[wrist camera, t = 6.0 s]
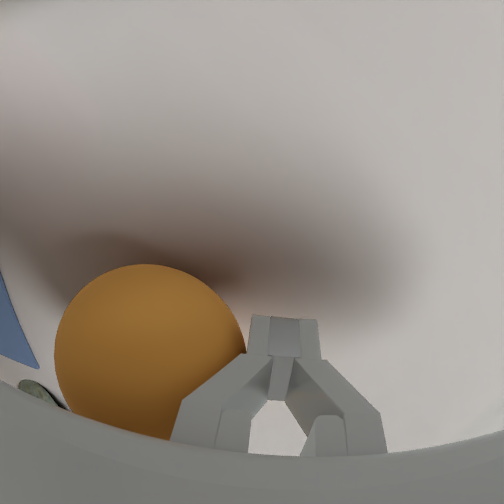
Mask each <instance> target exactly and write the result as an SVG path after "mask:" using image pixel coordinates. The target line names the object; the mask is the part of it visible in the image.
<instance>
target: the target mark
mask: <svg viewBox="0 0 504 504" xmlns="http://www.w3.org/2000/svg"><path fill="white" fill-rule="evenodd" d="M0 354H1V355H3V356H6V357H8V358H10V359H13V360H15V361H17V362H20V363H22V364H25V365H27V366H30V367H32V368H35V369H39V366H38V364H37V362H36V360H35V358H34V356H33V353H32V351H31V349H30V347H29V345H28V343H27V341H26V338H25V336H24V334H23V332H22V329H21V327H20V325H19V322H18V320H17V317H16V315H15V312H14V310H13V307H12V305H11V302H10V299H9V297H8V294H7V291H6V288H5V285H4V282H3V279H2V276H1V273H0Z"/></svg>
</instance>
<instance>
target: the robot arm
mask: <svg viewBox="0 0 504 504" xmlns="http://www.w3.org/2000/svg"><path fill="white" fill-rule="evenodd" d="M267 400H278V401H285V403H286V405H287V406H288V408H289V409H290V411H291V413H292V414H293V416H294V417H295V419H296V420H297V422H298V423H299V425H300V427H301V428H302V430H303V431H304V433H305V434H306V436H307V437H308V438H307V440H306V442H305V445H304V447H303V449H302V452H301V454H300V456H278V455H263V454H252V453H248V446H249V436H250V427H251V420H252V418H253V417H254V416H255V415H256V414H257V413H258V411H259V410H260V409H261V408H262V407H263V406H264V404H265V403H266V402H267ZM0 504H504V430H501V431H497V432H494V433H491V434H487V435H483V436H480V437H476V438H472V439H468V440H464V441H459V442H455V443H450V444H445V445H440V446H434V447H429V448H423V449H416V450H409V451H402V452H393V453H388V452H387V446H386V441H385V436H384V431H383V425H382V420H381V416H380V413H379V412H378V411H377V410H376V409H375V408H374V407H373V406H372V405H371V404H370V403H369V402H368V401H367V400H366V399H365V398H364V397H363V396H362V395H361V394H360V393H359V392H358V391H357V390H356V389H355V388H354V387H353V386H352V385H351V384H350V383H349V382H348V381H347V380H346V379H345V378H344V377H343V376H342V375H341V374H340V373H339V372H338V371H337V370H336V369H335V368H334V367H333V366H332V365H331V364H330V363H329V362H328V361H327V360H322V359H321V350H320V341H319V333H318V324H317V321H316V320H314V319H292V318H282V317H273V316H271V317H270V316H262V315H253V316H252V319H251V325H250V332H249V339H248V346H247V352H246V354H242V353H241V354H240V355H238V356H237V357H236V358H235V359H234V360H232V361H231V362H230V363H229V364H227V365H226V366H225V367H224V368H222V369H221V370H220V371H219V372H217V373H216V374H215V375H214V376H212V377H211V378H210V379H209V380H207V381H206V382H205V383H204V384H202V385H201V386H200V387H198V388H197V389H196V390H195V391H193V392H192V393H191V394H189V395H188V396H187V397H185V398H184V399H183V400H182V402H181V406H180V409H179V412H178V415H177V418H176V421H175V425H174V428H173V431H172V434H171V438H170V441H168V440H163V439H159V438H155V437H151V436H147V435H143V434H139V433H135V432H131V431H128V430H124V429H121V428H117V427H114V426H111V425H108V424H104V423H101V422H98V421H95V420H92V419H89V418H86V417H84V416H81V415H78V414H75V413H73V412H70V411H67V410H65V409H62V408H60V407H57V406H55V405H52V404H50V403H48V402H45V401H43V400H41V399H39V398H36V397H34V396H32V395H30V394H28V393H25V392H23V391H21V390H19V389H17V388H15V387H13V386H11V385H9V384H7V383H5V382H3V381H1V380H0Z"/></svg>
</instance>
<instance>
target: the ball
mask: <svg viewBox="0 0 504 504" xmlns="http://www.w3.org/2000/svg"><path fill="white" fill-rule="evenodd" d="M241 353H242V354H246V347H245V342H244V338H243V335H242V333H241V330H240V328H239V325H238V323H237V321H236V319H235V317H234V315H233V314H232V312H231V311H230V309H229V308H228V306H227V305H226V304H225V302H224V301H223V300H222V299H221V298H220V297H219V296H218V295H217V294H216V293H215V292H214V291H213V290H212V289H211V288H210V287H208V286H207V285H206V284H204V283H203V282H202V281H200V280H199V279H197V278H195V277H193V276H192V275H190V274H188V273H185V272H183V271H180V270H177V269H174V268H170V267H167V266H162V265H155V264H136V265H129V266H124V267H120V268H117V269H114V270H111V271H109V272H106V273H104V274H102V275H100V276H99V277H97V278H95V279H94V280H92V281H91V282H90V283H89V284H87V285H86V286H85V287H84V288H82V289H81V290H80V291H79V293H78V294H77V295H76V296H75V297H74V298H73V300H72V301H71V302H70V304H69V306H68V307H67V309H66V310H65V312H64V314H63V317H62V319H61V322H60V324H59V327H58V330H57V335H56V339H55V350H54V360H55V371H56V375H57V379H58V383H59V387H60V389H61V392H62V394H63V396H64V398H65V401H66V402H67V404H68V406H69V408H70V409H71V410H72V412H73V413H75V414H78V415H81V416H84V417H86V418H89V419H92V420H95V421H98V422H101V423H104V424H108V425H111V426H114V427H117V428H121V429H124V430H128V431H131V432H135V433H139V434H143V435H147V436H151V437H155V438H159V439H163V440H168V441H170V438H171V434H172V431H173V428H174V425H175V421H176V418H177V415H178V412H179V409H180V406H181V402H182V400H183V399H184V398H185V397H187V396H188V395H189V394H191V393H192V392H193V391H195V390H196V389H197V388H198V387H200V386H201V385H202V384H204V383H205V382H206V381H207V380H209V379H210V378H211V377H212V376H214V375H215V374H216V373H217V372H219V371H220V370H221V369H222V368H224V367H225V366H226V365H227V364H229V363H230V362H231V361H232V360H234V359H235V358H236V357H237V356H238V355H240V354H241Z"/></svg>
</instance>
